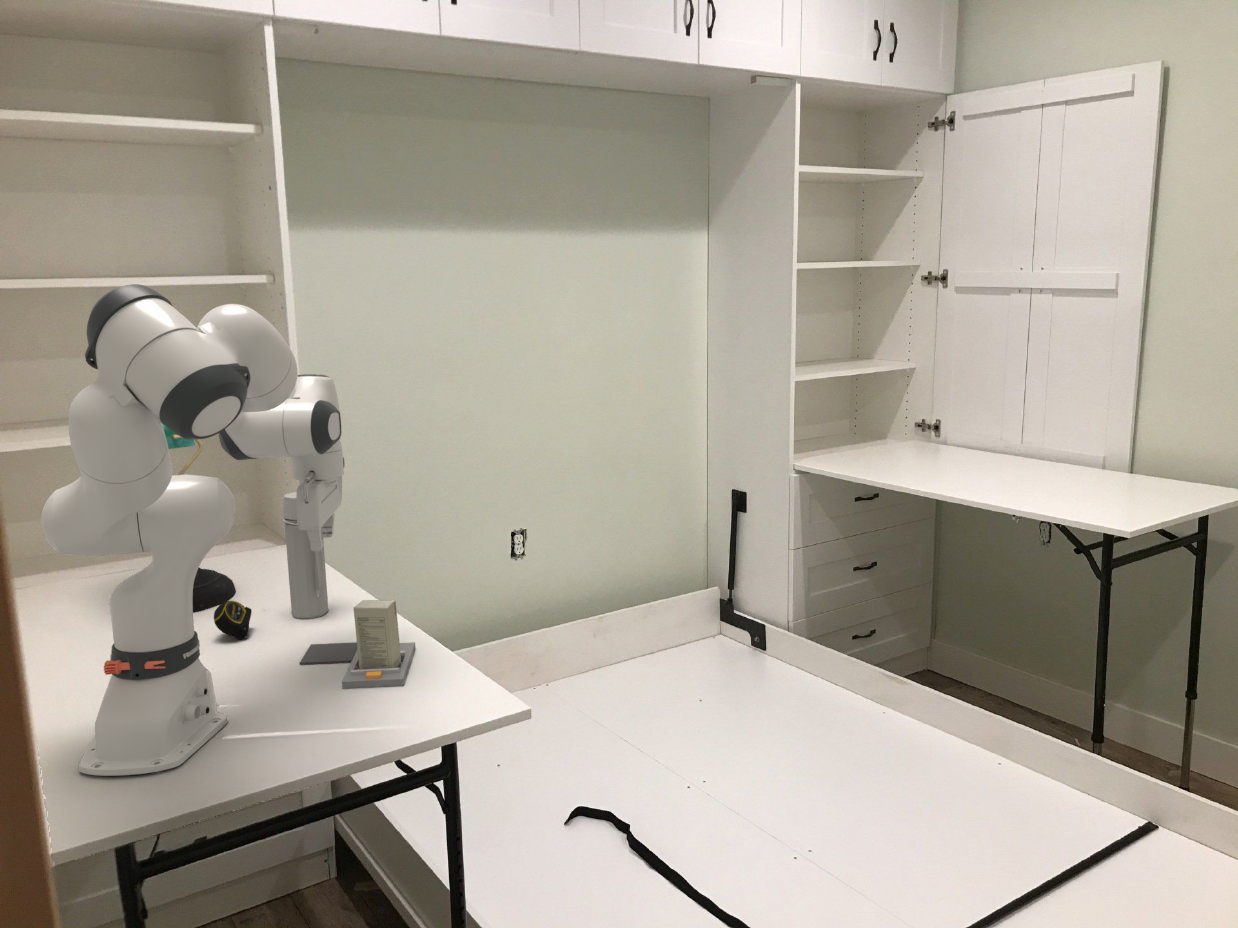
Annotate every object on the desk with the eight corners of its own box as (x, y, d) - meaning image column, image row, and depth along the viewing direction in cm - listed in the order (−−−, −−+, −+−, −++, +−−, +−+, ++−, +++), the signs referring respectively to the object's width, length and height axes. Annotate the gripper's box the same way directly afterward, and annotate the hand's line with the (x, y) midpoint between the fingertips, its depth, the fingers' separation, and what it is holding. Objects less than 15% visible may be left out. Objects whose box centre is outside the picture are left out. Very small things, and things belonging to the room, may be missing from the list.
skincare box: (402, 666, 172) (398, 599, 169) (393, 676, 167) (389, 607, 165) (366, 665, 172) (362, 598, 170) (357, 674, 168) (352, 606, 166)
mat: (351, 662, 174) (351, 660, 174) (299, 664, 173) (299, 662, 173) (360, 644, 182) (360, 641, 182) (311, 646, 182) (310, 644, 182)
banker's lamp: (103, 597, 212) (82, 414, 205) (211, 575, 227) (195, 404, 220) (140, 628, 193) (118, 427, 185) (256, 602, 208) (240, 415, 200)
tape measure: (239, 645, 186) (251, 633, 185) (206, 629, 183) (218, 617, 182) (244, 620, 192) (256, 608, 191) (213, 604, 188) (224, 592, 187)
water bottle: (283, 615, 199) (273, 495, 195) (319, 606, 205) (310, 488, 200) (305, 625, 193) (295, 501, 188) (341, 616, 198) (333, 495, 194)
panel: (403, 685, 163) (402, 675, 163) (342, 688, 162) (341, 678, 162) (415, 648, 180) (414, 639, 180) (359, 650, 179) (359, 641, 179)
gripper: (323, 476, 162) (329, 558, 164) (346, 456, 182) (351, 529, 184) (284, 478, 161) (290, 559, 163) (311, 457, 181) (316, 530, 183)
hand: (322, 543), depth 174 cm, fingers open, 8 cm apart
